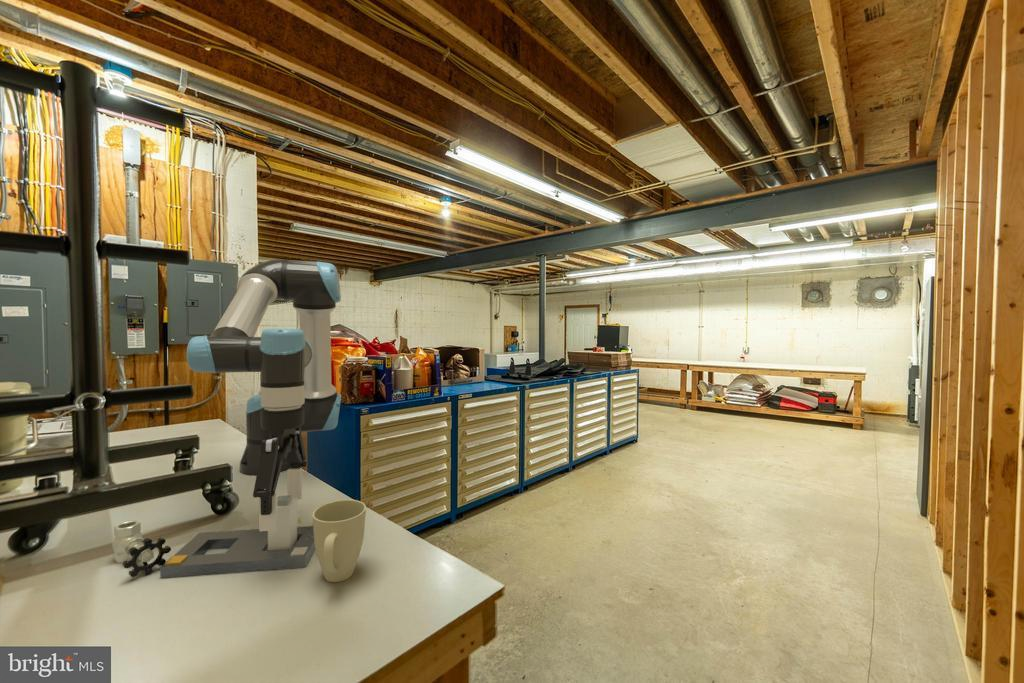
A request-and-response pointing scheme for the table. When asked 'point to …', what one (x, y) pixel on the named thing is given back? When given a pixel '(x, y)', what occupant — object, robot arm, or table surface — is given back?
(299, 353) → the robot arm
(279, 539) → the plug
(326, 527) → the mug
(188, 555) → the grey slotted tray
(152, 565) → the valve
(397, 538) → the table surface
